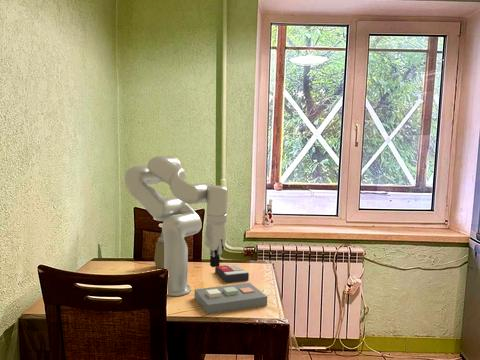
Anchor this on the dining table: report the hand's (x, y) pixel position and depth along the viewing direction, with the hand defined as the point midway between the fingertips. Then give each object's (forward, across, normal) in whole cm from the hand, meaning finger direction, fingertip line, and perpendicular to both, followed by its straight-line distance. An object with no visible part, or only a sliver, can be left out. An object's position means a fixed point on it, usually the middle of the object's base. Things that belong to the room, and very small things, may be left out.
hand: (214, 266), depth 156 cm
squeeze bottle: (+16, -50, -7) cm, 53 cm away
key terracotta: (+13, +1, +14) cm, 19 cm away
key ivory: (+12, 0, 0) cm, 12 cm away
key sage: (+12, 0, +7) cm, 14 cm away
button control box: (+16, -26, +19) cm, 36 cm away
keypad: (+15, 0, +7) cm, 16 cm away
